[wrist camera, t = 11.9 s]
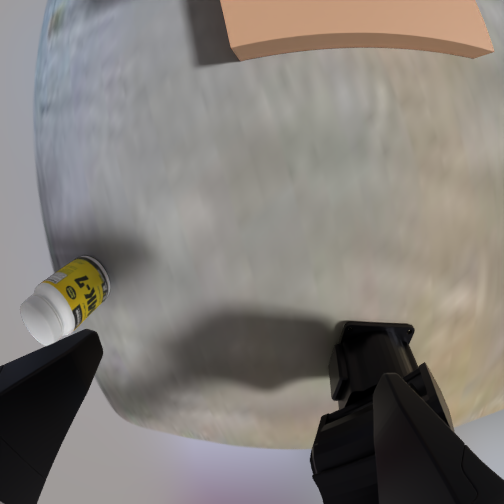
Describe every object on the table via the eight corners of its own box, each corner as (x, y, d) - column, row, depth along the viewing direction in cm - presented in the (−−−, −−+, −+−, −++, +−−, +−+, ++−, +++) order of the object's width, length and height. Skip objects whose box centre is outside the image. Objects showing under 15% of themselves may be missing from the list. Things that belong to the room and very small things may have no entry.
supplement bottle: (117, 300, 24) (66, 357, 16) (83, 298, 25) (32, 346, 17) (103, 253, 22) (40, 300, 15) (69, 254, 23) (9, 296, 15)
